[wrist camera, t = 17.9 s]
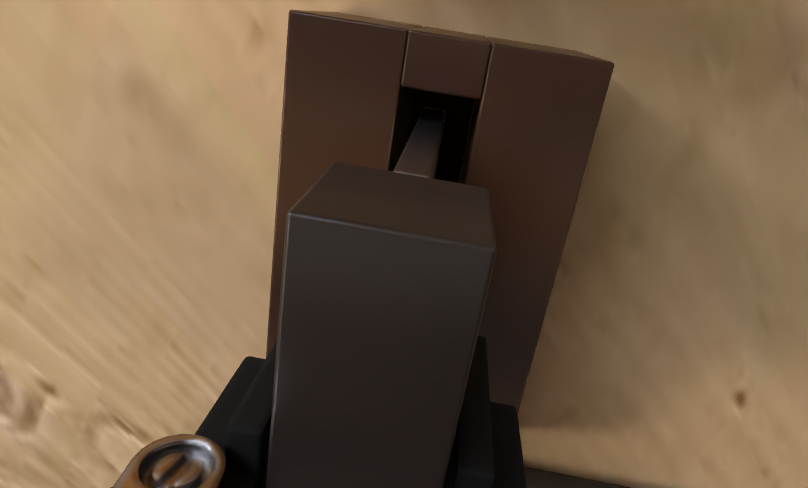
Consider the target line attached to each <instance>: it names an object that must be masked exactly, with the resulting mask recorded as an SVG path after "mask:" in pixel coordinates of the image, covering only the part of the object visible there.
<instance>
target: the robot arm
mask: <svg viewBox="0 0 808 488" xmlns="http://www.w3.org/2000/svg"><path fill="white" fill-rule="evenodd" d="M276 349H277V341H276V343H275V344H274V346H273V348H272V350H271V351H270V353H269V355H268V356H267V358H266V359H261V358H256V357H250V356H248V357H246V358H245V359H244V360H243V362H242V363H241V365H240V366H239V368H238V369H237V371H236V372H235V374H234V375H233V377H232V378H231V380H230V381H229V383H228V385H227V386H226V388H225V389H224V391H223V392H222V394H221V395H220V397H219V398H218V400H217V401H216V403H215V404H214V406H213V407H212V409H211V410H210V412H209V414H208V415H207V417H206V418H205V420H204V421H203V423H202V424H201V426H200V427H199V429H198V430H197V432H196V433H195V435H192V434H179V435H173V436H167V437H164V438H161V439H159V440H156V441H153V442H152V443H150V444H149V445H147V446H145V447H144V448H142V449H141V450H140V451H139V452H138V453H137V454H136V455H135V456H134V457H133V458H132V460H131V461H130V463H129V464H128V466H127V467H126V468H125V470H124V471H123V473H122V474H121V476H120V477H119V479H118V480H117V482H116V483H115V484H114V486H113V487H111V488H266V480H267V467H268V453H269V440H270V427H271V414H272V401H273V388H274V375H275V362H276ZM443 488H527V486H526V478H525V470H524V463H523V455H522V447H521V439H520V431H519V423H518V416H517V410H516V407H515V406H513V405H507V404H502V403H497V402H491V401H490V394H489V378H488V361H487V344H486V337H482V336H478V337H477V341H476V345H475V350H474V354H473V358H472V363H471V367H470V372H469V376H468V380H467V385H466V389H465V393H464V398H463V402H462V407H461V411H460V415H459V420H458V424H457V428H456V433H455V437H454V442H453V446H452V450H451V455H450V459H449V463H448V468H447V472H446V477H445V481H444V485H443Z"/></svg>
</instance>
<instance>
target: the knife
mask: <svg viewBox="0 0 808 488" xmlns="http://www.w3.org/2000/svg"><path fill="white" fill-rule="evenodd" d="M445 116H446V111H444V110H439V109H433V108H427V107H426V108H424V110H423V112H422V114H421V116H420V118H419V120H418V122H417V124H416V126H415V128H414V130H413V132H412V134H411V136H410V138H409V140H408V142H407V144H406V146H405V148H404V150H403V152H402V154H401V156H400V158H399V160H398V162H397V164H396V166H395V168H394V170H393V172H392V171H386V170H380V169H374V168H368V167H363V166H357V165H351V164H345V163H339V162H336V163H333V164H332V165H331V167H330V168H329V169H328V170H327V171H326V172H325V173H324V174H323V175H322V176H321V177H320V178H319V179H318V180H317V181H316V182H315V184H314V185H313V186H312V187H311V188H310V189H309V190H308V191H307V192H306V193H305V194H304V195H303V196H302V197H301V198H300V199H299V201H298V202H297V203H296V204H295V205H294V206H293V207H292V208H291V209H290V210H289V211H288V213H287V218H286V231H285V244H284V257H283V270H282V283H281V296H280V309H279V322H278V335H277V349H276V362H275V375H274V388H273V401H272V414H271V427H270V440H269V453H268V467H267V480H266V488H443V485H444V481H445V477H446V472H447V468H448V463H449V459H450V455H451V450H452V446H453V442H454V437H455V433H456V428H457V424H458V420H459V415H460V411H461V407H462V402H463V398H464V393H465V389H466V385H467V380H468V376H469V372H470V367H471V363H472V358H473V354H474V350H475V345H476V341H477V337H478V332H479V328H480V323H481V319H482V315H483V310H484V306H485V302H486V297H487V293H488V288H489V284H490V280H491V275H492V271H493V267H494V262H495V258H496V253H497V249H496V241H495V234H494V226H493V218H492V210H491V203H490V195H489V190H488V189H487V188H484V187H478V186H472V185H467V184H461V183H455V182H449V181H444V180H438V179H435V173H436V167H437V162H438V156H439V150H440V144H441V139H442V133H443V127H444V122H445Z"/></svg>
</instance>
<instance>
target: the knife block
mask: <svg viewBox="0 0 808 488" xmlns="http://www.w3.org/2000/svg"><path fill="white" fill-rule="evenodd" d="M613 68H614V63H612V62H610V61H607V60H604V59H601V58H597V57H594V56H591V55H588V54H584V53H581V52H578V51H574V50H568V49H561V48H555V47H549V46H543V45H537V44H530V43H524V42H518V41H512V40H506V39H499V38H493V37H487V38H486V37H485V36H481V35H475V34H469V33H462V32H456V31H450V30H444V29H438V28H431V27H423V26H419V25H413V24H407V23H401V22H394V21H388V20H382V19H376V18H370V17H364V16H357V15H351V14H345V13H339V12H323V11H301V10H290V11H289V20H288V35H287V50H286V65H285V80H284V95H283V110H282V126H281V141H280V156H279V171H278V186H277V201H276V216H275V231H274V246H273V261H272V276H271V292H270V307H269V322H268V337H267V352H266V358H267V356H268V355H269V353H270V351H271V350H272V348H273V346H274V344H275V343H276V341H277V335H278V322H279V309H280V296H281V283H282V270H283V257H284V244H285V231H286V218H287V213H288V211H289V210H290V209H291V208H292V207H293V206H294V205H295V204H296V203H297V202H298V201H299V199H300V198H301V197H302V196H303V195H304V194H305V193H306V192H307V191H308V190H309V189H310V188H311V187H312V186H313V185H314V184H315V182H316V181H317V180H318V179H319V178H320V177H321V176H322V175H323V174H324V173H325V172H326V171H327V170H328V169H329V168H330V167H331V165H332V164H333V163H336V162H339V163H345V164H351V165H357V166H363V167H368V168H374V169H380V170H386V171H392V172H393V170H394V168H395V166H396V164H397V162H398V160H399V158H400V156H401V154H402V152H403V150H404V148H405V146H406V141H407V134H408V128H409V121H410V115H411V108H412V101H413V95H414V89H419V90H425V91H431V92H437V93H443V94H449V95H455V96H461V97H467V98H473V99H475V100H474V105H473V110H472V116H471V121H470V126H469V131H468V137H467V142H466V147H465V152H464V157H463V163H462V168H461V173H460V178H459V183H461V184H467V185H472V186H478V187H484V188H487V189H488V190H489V195H490V203H491V210H492V218H493V226H494V234H495V241H496V249H497V253H496V258H495V262H494V267H493V271H492V275H491V280H490V284H489V288H488V293H487V297H486V302H485V306H484V310H483V315H482V319H481V323H480V328H479V332H478V336H482V337H486V344H487V361H488V378H489V394H490V401H491V402H497V403H502V404H507V405H513V406H515V407H516V410H517V415H518V411H519V408H520V404H521V400H522V397H523V393H524V390H525V386H526V382H527V379H528V375H529V371H530V368H531V364H532V361H533V357H534V353H535V350H536V346H537V343H538V339H539V335H540V332H541V328H542V325H543V321H544V317H545V314H546V310H547V306H548V303H549V299H550V296H551V292H552V288H553V285H554V281H555V278H556V274H557V270H558V267H559V263H560V259H561V256H562V252H563V249H564V245H565V241H566V238H567V234H568V231H569V227H570V223H571V220H572V216H573V212H574V209H575V205H576V202H577V198H578V194H579V191H580V187H581V184H582V180H583V176H584V173H585V169H586V166H587V162H588V158H589V155H590V151H591V147H592V144H593V140H594V137H595V133H596V129H597V126H598V122H599V119H600V115H601V111H602V108H603V104H604V100H605V97H606V93H607V90H608V86H609V82H610V79H611V75H612V72H613Z"/></svg>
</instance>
